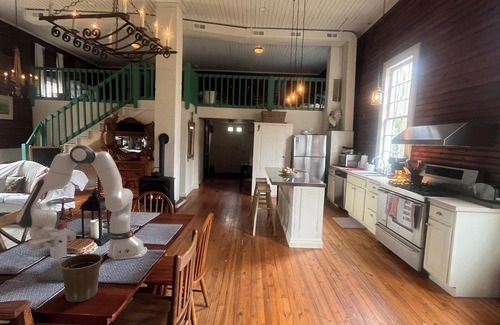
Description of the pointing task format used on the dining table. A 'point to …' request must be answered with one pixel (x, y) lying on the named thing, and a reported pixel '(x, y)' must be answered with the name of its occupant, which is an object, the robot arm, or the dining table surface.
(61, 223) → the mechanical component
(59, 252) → the off-white rectangular block
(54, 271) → the steel plate
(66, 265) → the plant pot
